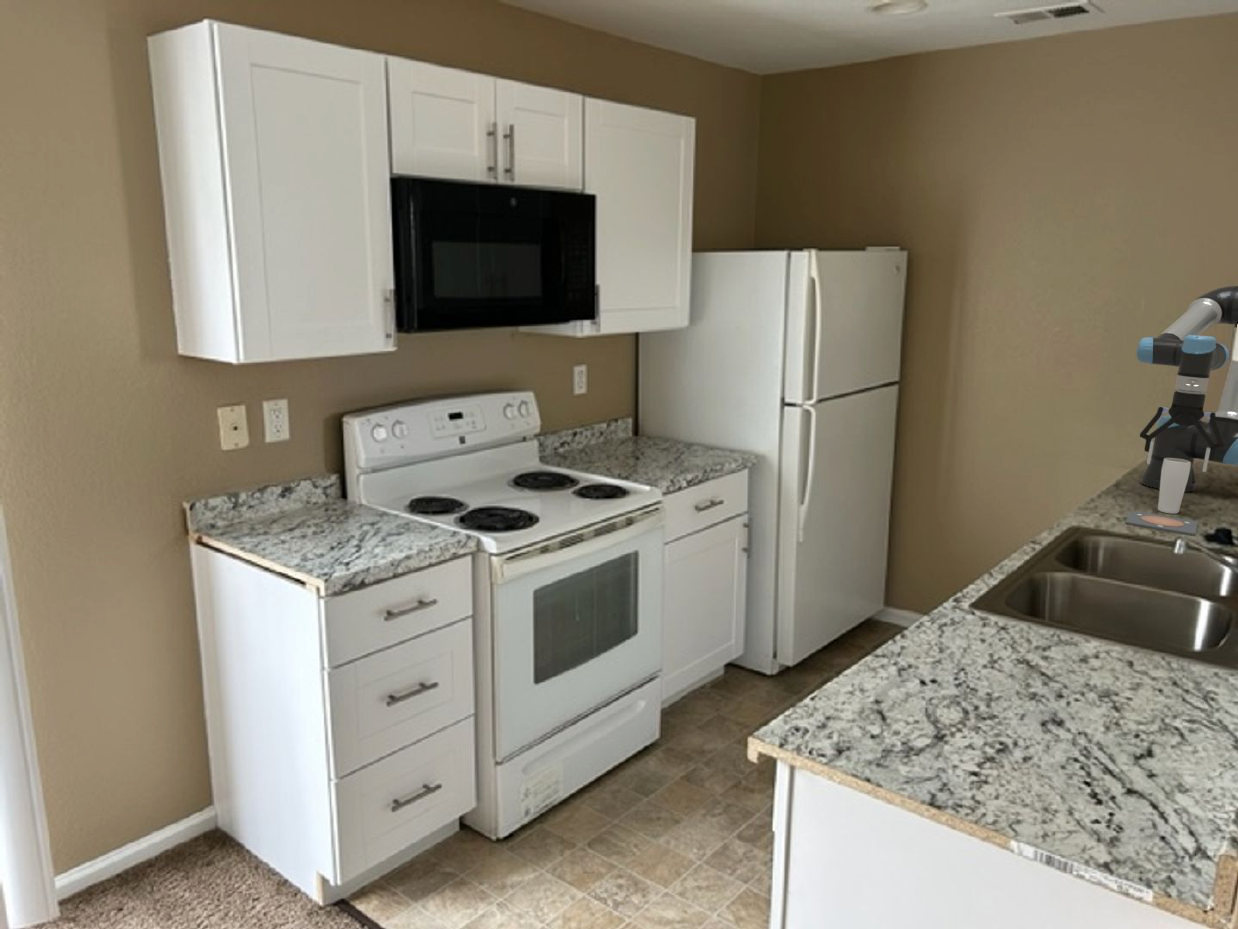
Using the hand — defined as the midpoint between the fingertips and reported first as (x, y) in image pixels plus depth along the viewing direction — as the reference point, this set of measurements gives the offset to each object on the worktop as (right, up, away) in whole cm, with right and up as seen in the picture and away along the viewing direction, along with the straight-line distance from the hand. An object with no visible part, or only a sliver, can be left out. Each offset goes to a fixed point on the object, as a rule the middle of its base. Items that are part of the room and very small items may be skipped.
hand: (1175, 467), depth 260 cm
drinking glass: (0, -13, +3) cm, 13 cm away
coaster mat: (-10, -15, -11) cm, 21 cm away
